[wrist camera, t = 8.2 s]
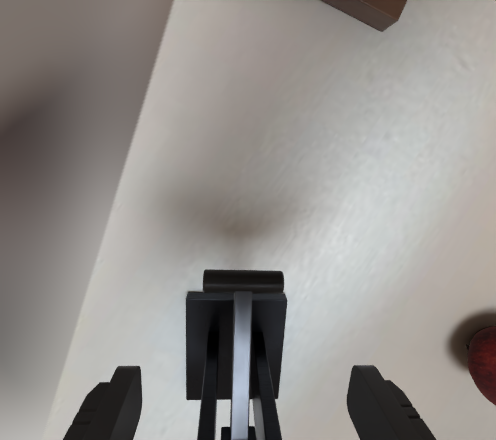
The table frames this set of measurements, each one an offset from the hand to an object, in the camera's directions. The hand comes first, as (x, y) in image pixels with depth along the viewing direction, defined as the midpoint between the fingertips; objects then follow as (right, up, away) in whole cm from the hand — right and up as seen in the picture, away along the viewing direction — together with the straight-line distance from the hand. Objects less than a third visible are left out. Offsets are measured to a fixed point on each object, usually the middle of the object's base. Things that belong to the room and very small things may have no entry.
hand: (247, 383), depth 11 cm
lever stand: (-1, -6, +18) cm, 19 cm away
